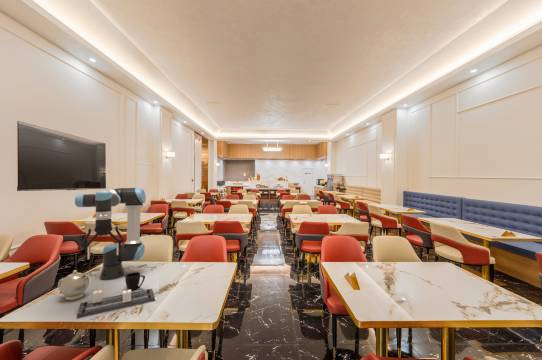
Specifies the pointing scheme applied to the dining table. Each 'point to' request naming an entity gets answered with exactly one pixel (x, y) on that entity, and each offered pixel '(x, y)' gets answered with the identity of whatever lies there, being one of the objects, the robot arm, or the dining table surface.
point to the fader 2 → (126, 295)
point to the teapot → (73, 285)
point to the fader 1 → (97, 296)
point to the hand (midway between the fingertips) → (103, 256)
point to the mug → (133, 281)
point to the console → (114, 303)
